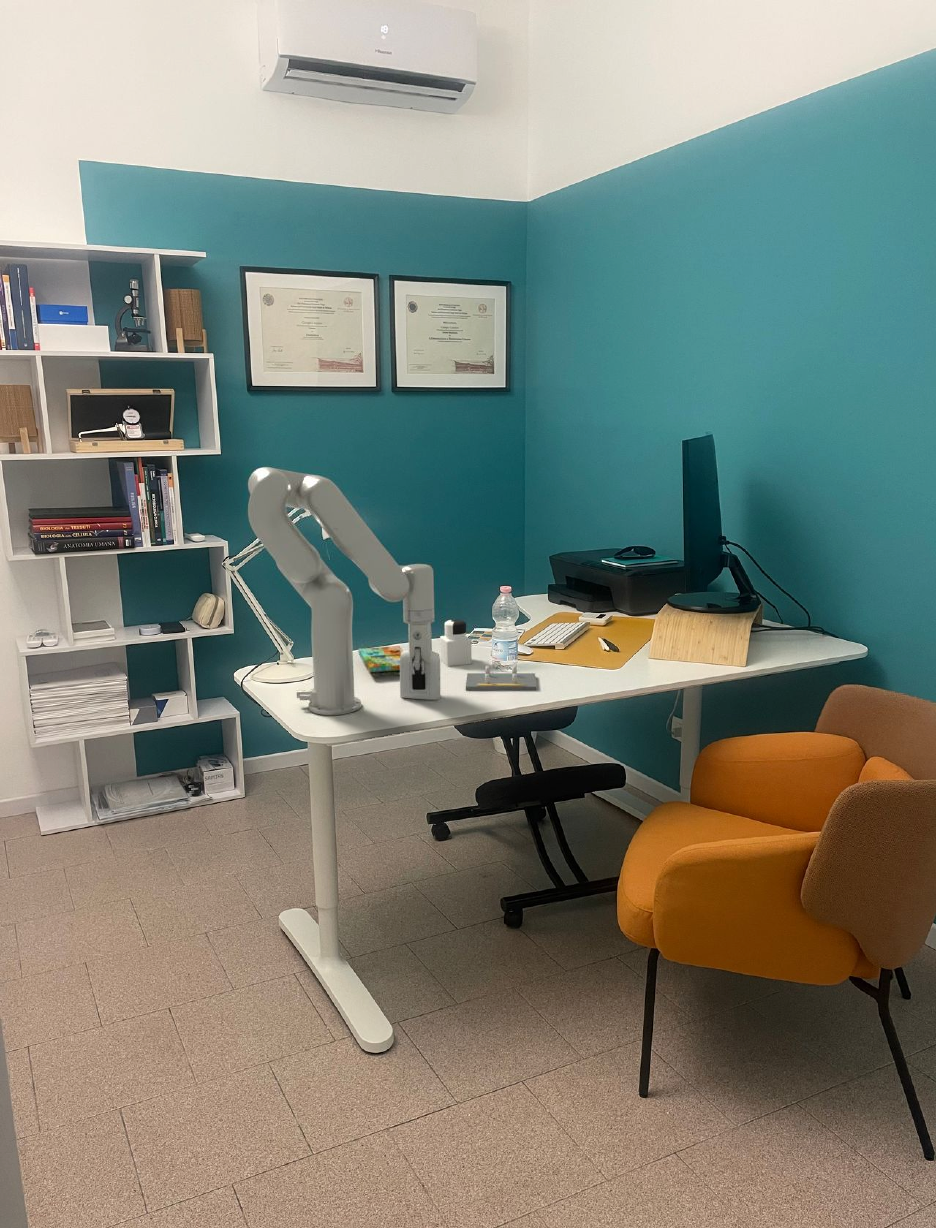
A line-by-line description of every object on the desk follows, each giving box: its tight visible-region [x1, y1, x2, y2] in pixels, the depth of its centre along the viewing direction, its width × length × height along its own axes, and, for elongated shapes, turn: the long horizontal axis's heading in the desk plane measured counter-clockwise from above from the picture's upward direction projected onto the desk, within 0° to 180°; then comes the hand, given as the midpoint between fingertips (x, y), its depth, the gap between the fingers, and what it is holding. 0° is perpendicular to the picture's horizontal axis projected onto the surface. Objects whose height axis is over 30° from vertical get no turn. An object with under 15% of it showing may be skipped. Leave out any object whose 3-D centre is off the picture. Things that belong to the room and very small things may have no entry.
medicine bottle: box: [439, 619, 473, 667], centre depth 264 cm, size 7×7×12 cm
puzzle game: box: [358, 645, 404, 677], centre depth 259 cm, size 12×5×20 cm
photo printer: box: [399, 649, 441, 701], centre depth 232 cm, size 10×4×12 cm, turn 78°
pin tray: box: [465, 665, 538, 691], centre depth 244 cm, size 18×12×4 cm, turn 88°
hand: (420, 683), depth 233 cm, fingers open, 7 cm apart
